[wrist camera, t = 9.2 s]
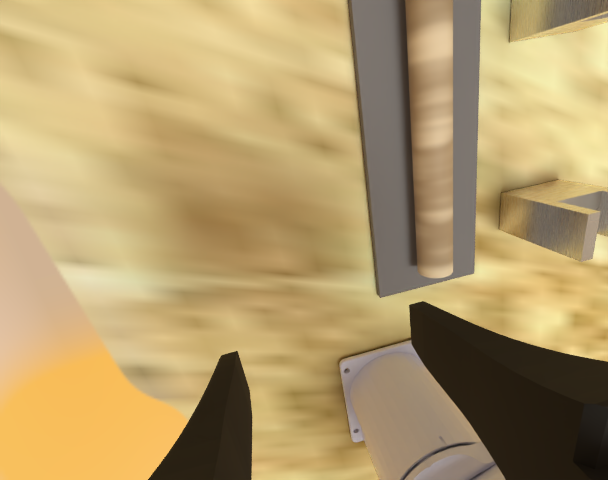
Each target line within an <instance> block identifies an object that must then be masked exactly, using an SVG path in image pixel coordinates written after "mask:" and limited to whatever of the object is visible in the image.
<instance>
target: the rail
mask: <svg viewBox="0 0 608 480" xmlns="http://www.w3.org/2000/svg"><path fill="white" fill-rule="evenodd" d="M405 6H406V28H407V50H408V72H409V94H410V116H411V138H412V160H413V182H414V204H415V226H416V249H417V270H418V273H419V274H420V275H422V276H424V277H428V278H444V277H447V276H449V275H451V274H452V273H453V0H405Z"/></svg>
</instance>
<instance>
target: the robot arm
mask: <svg viewBox="0 0 608 480" xmlns="http://www.w3.org/2000/svg"><path fill="white" fill-rule="evenodd" d="M409 308H410V326H411V340H409V341H405V342H402V343H398V344H395V345H391V346H387V347H384V348H380V349H377V350H373V351H370V352H366V353H362V354H359V355H355V356H352V357H348V358H345V359H342V360H341V361H340V363H339V368H340V374H341V380H342V386H343V392H344V398H345V404H346V410H347V416H348V422H349V428H350V434H351V438H352V441H353V442H360V441H363V440H364V442H365V444H366V447H367V449H368V452H369V454H370V457H371V460H372V462H373V465H374V467H375V470H376V472H377V475H378V477H379V480H608V362H606V361H600V360H595V359H589V358H584V357H579V356H574V355H570V354H565V353H561V352H557V351H553V350H549V349H545V348H541V347H537V346H534V345H530V344H527V343H524V342H521V341H518V340H515V339H511V338H508V337H506V336H503V335H500V334H497V333H495V332H492V331H490V330H487V329H484V328H482V327H480V326H477V325H475V324H472V323H470V322H468V321H466V320H463V319H461V318H459V317H457V316H454V315H452V314H450V313H448V312H446V311H444V310H441V309H439V308H437V307H435V306H433V305H431V304H428V303H426V302H423V301H422V302H418V303H415V304H411V305H409ZM347 368H348V369H347ZM345 369H347V370H345ZM251 468H252V409H251V399H250V390H249V387H248V384H247V380H246V377H245V374H244V371H243V367H242V364H241V361H240V358H239V355H238V351H236V352H232V353H228V354H225V355H222V356H221V357H220V359H219V361H218V364H217V366H216V368H215V371H214V373H213V375H212V377H211V380H210V382H209V384H208V386H207V388H206V390H205V392H204V394H203V396H202V398H201V400H200V402H199V404H198V406H197V407H196V409H195V411H194V413H193V415H192V416H191V418H190V420H189V422H188V423H187V425H186V427H185V428H184V430H183V432H182V433H181V435H180V436H179V438H178V439H177V441H176V442H175V444H174V445H173V447H172V448H171V450H170V451H169V453H168V454H167V456H166V457H165V458H164V459H163V461H162V462H161V464H160V465H159V466H158V467H157V469H156V470H155V471H154V473H153V474H152V475H151V477H150V478H149V479H148V480H251Z"/></svg>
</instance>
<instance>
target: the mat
mask: <svg viewBox="0 0 608 480" xmlns="http://www.w3.org/2000/svg"><path fill="white" fill-rule="evenodd" d="M348 3H349V13H350V23H351V33H352V43H353V53H354V63H355V73H356V83H357V93H358V103H359V113H360V123H361V133H362V143H363V153H364V163H365V173H366V183H367V193H368V203H369V213H370V223H371V233H372V243H373V253H374V263H375V273H376V283H377V293H378V296H379V297H380V298H381V297H385V296H389V295H393V294H397V293H401V292H404V291H408V290H412V289H416V288H420V287H424V286H427V285H431V284H435V283H439V282H443V281H447V280H450V279H454V278H458V277H462V276H466V275H470V274H473V273H474V258H475V219H476V179H477V140H478V100H479V61H480V21H481V0H453V273H452V274H451V275H449V276H447V277H444V278H428V277H424V276H422V275H420V274H419V273H418V270H417V249H416V226H415V204H414V182H413V160H412V138H411V116H410V94H409V72H408V50H407V28H406V6H405V0H348Z"/></svg>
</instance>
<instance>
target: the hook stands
mask: <svg viewBox="0 0 608 480" xmlns="http://www.w3.org/2000/svg"><path fill="white" fill-rule="evenodd" d="M606 22H608V0H512V4H511V22H510V41H509V42H514V41H520V40H526V39H532V38H538V37H544V36H550V35H556V34H562V33H568V32H574V31H578V30H582V29H585V28H589V27H592V26H596V25H599V24H603V23H606ZM499 230H501V231H504V232H506V233H509V234H511V235H514V236H516V237H519V238H522V239H524V240H527V241H529V242H532V243H534V244H537V245H539V246H542V247H545V248H547V249H550V250H552V251H555V252H557V253H560V254H563V255H565V256H568V257H570V258H573V259H575V260H578V261H580V262H582V261H586V260H589V259H592V258H593V253H594V247H595V241H596V235H597V234H601V235H604V236H608V187H601V186H595V185H589V184H583V183H576V182H570V181H564V180H555V181H551V182H547V183H542V184H538V185H534V186H529V187H525V188H520V189H516V190H512V191H507V192H503V193H501V206H500V225H499Z"/></svg>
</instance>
